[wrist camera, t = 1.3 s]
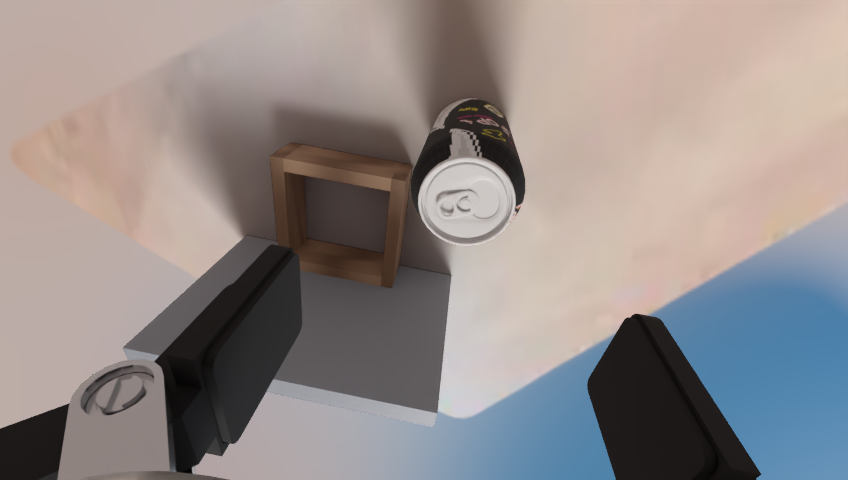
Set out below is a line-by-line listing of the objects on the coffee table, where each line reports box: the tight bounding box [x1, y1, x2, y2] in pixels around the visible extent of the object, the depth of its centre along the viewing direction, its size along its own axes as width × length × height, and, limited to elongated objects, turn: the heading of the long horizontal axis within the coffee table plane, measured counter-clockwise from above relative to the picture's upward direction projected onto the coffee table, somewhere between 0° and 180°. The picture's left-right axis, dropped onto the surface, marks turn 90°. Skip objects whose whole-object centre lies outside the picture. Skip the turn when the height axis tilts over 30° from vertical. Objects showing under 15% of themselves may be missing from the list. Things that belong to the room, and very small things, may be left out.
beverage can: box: [411, 98, 525, 246], centre depth 21 cm, size 6×6×12 cm
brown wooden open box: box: [270, 143, 413, 288], centre depth 30 cm, size 10×10×4 cm
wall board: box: [123, 235, 451, 427], centre depth 28 cm, size 20×2×14 cm, turn 82°
